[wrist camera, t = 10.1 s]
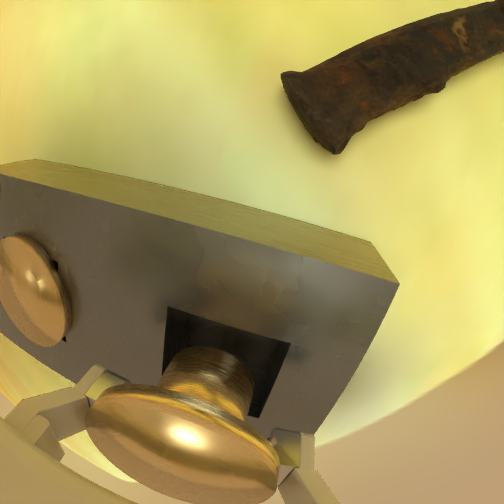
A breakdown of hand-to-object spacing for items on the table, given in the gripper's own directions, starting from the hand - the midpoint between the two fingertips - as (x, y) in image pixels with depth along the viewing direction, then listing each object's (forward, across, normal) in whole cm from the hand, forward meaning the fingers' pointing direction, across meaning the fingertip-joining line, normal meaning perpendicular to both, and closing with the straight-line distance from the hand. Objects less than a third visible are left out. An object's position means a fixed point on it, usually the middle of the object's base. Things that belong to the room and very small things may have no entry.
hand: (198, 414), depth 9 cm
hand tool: (+8, -7, -18) cm, 21 cm away
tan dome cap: (+2, 0, 0) cm, 2 cm away
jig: (+8, +5, 0) cm, 9 cm away
